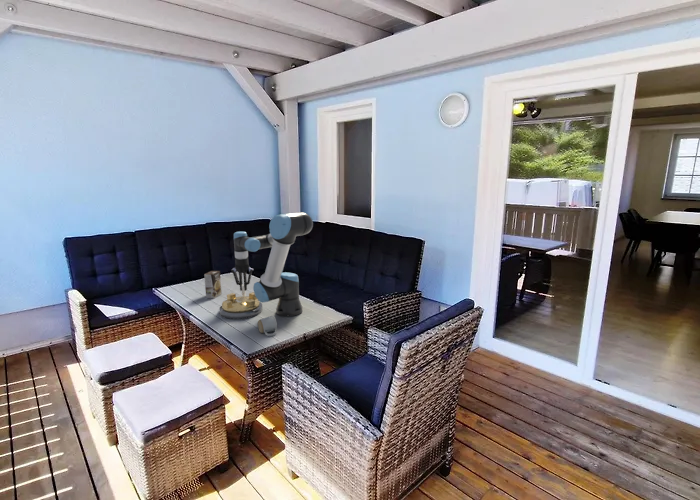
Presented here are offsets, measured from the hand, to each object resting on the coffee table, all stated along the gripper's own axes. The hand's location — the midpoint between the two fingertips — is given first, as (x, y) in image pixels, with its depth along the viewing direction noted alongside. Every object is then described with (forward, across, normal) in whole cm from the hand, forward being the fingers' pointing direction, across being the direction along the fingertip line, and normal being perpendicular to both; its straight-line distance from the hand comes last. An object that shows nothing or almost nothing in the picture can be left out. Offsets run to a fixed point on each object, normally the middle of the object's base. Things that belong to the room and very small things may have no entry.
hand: (243, 295), depth 222 cm
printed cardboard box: (+7, +24, -20) cm, 32 cm away
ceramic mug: (+7, -20, +39) cm, 44 cm away
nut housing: (+7, 0, +9) cm, 11 cm away
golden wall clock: (+4, 0, +9) cm, 10 cm away
